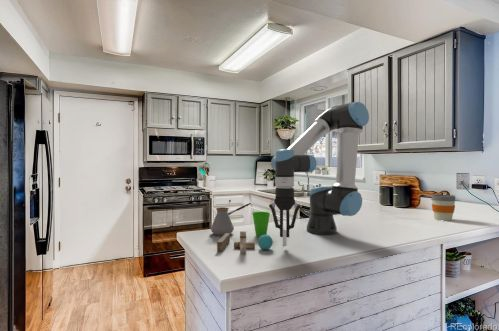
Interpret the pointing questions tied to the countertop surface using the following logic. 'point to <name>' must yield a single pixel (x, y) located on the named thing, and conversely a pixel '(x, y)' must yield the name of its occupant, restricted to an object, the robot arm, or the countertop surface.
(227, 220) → the coffee pot
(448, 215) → the reusable coffee cup
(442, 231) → the countertop surface
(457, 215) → the countertop surface
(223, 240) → the bar
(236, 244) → the front pin
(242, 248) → the side pin
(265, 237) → the ball
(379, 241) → the countertop surface
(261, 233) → the cup
